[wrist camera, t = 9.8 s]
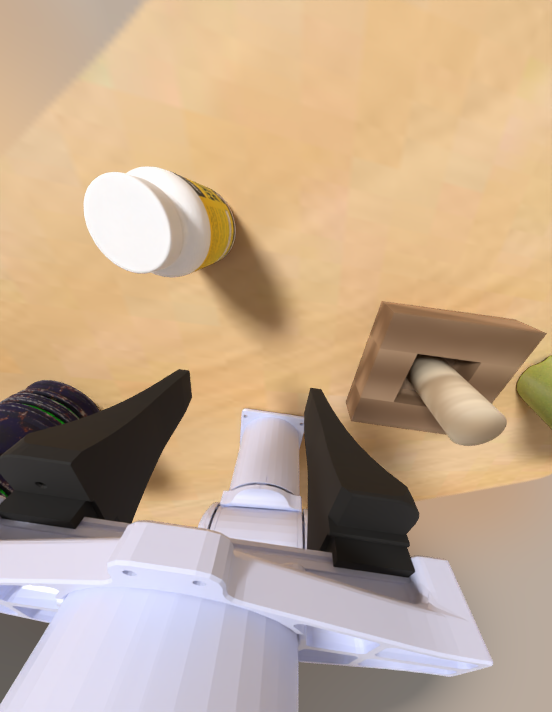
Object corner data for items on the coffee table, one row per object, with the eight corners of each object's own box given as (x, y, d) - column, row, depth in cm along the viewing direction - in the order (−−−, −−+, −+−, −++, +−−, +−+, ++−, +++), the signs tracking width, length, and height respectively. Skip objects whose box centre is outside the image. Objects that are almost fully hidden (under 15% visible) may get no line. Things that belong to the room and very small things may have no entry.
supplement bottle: (239, 192, 17) (186, 163, 9) (234, 267, 20) (190, 299, 12) (168, 179, 17) (47, 137, 9) (173, 256, 20) (84, 280, 12)
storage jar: (111, 438, 33) (-5, 573, 21) (45, 430, 34) (-111, 558, 21) (89, 384, 28) (-82, 518, 15) (12, 374, 29) (-221, 499, 16)
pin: (434, 383, 24) (489, 448, 17) (398, 380, 24) (439, 443, 17) (448, 353, 22) (517, 411, 15) (410, 350, 22) (461, 406, 15)
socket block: (448, 416, 27) (464, 437, 24) (345, 401, 27) (351, 421, 24) (515, 319, 20) (546, 333, 18) (381, 301, 21) (394, 312, 18)
